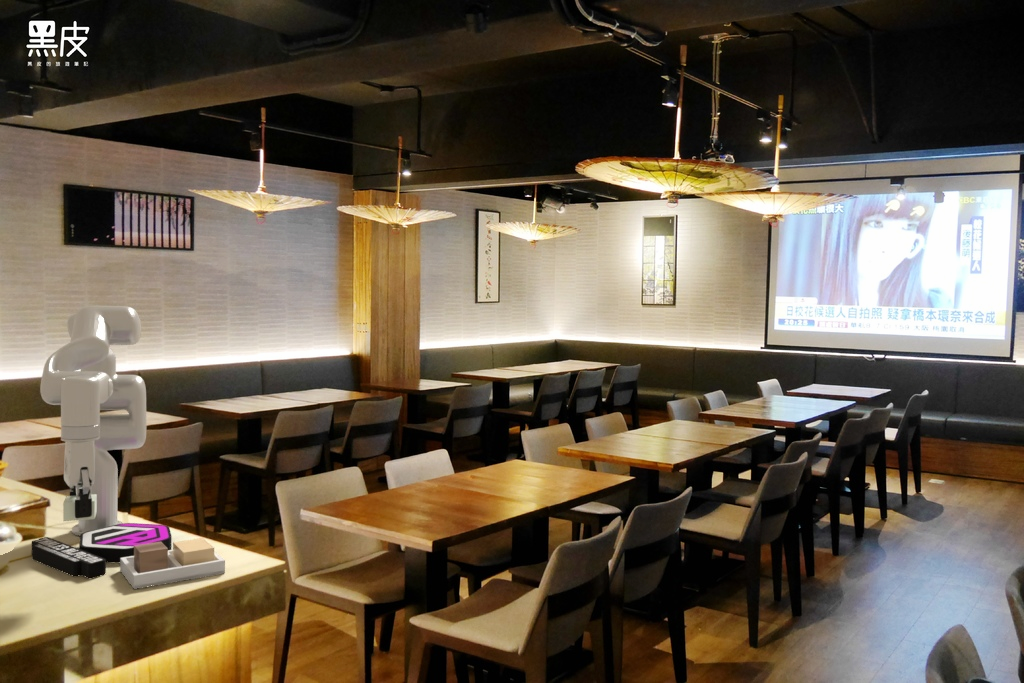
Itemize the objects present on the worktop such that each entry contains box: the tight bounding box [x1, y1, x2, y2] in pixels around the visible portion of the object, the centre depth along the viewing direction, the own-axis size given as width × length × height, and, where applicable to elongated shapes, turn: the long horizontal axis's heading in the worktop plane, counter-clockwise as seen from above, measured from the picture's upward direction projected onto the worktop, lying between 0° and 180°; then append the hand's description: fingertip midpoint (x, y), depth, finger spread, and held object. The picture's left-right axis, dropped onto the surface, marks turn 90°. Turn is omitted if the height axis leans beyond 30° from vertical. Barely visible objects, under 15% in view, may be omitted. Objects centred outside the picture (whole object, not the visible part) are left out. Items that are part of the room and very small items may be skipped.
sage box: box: [62, 494, 97, 522], centre depth 182 cm, size 6×6×4 cm
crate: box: [119, 537, 226, 590], centre depth 196 cm, size 14×20×6 cm
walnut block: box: [134, 542, 168, 573], centre depth 193 cm, size 6×6×6 cm
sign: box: [31, 522, 172, 579], centre depth 208 cm, size 27×4×30 cm
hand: (80, 512), depth 182 cm, fingers closed on sage box, 6 cm apart
